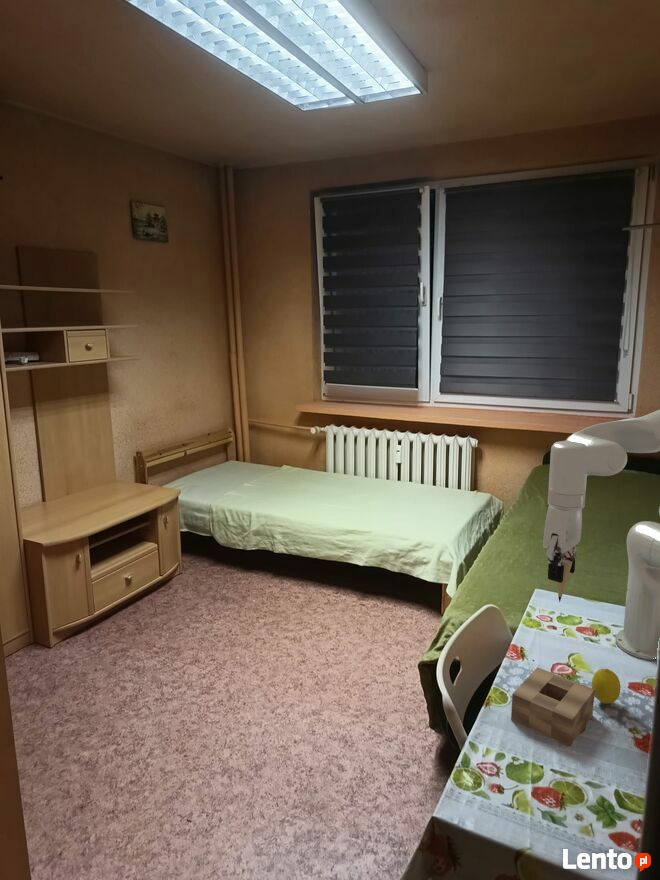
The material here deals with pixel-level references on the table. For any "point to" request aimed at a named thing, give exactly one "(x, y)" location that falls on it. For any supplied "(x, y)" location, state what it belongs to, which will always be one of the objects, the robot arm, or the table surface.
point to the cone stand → (553, 706)
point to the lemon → (606, 686)
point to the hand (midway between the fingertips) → (561, 575)
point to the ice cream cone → (565, 569)
